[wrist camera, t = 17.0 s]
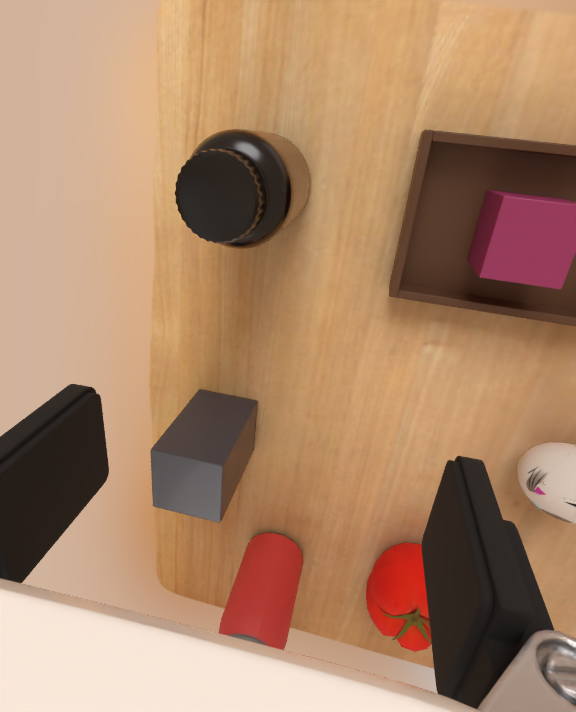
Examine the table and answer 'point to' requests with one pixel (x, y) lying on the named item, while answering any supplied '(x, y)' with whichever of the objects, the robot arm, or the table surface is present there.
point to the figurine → (550, 478)
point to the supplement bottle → (242, 187)
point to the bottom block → (203, 455)
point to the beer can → (264, 591)
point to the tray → (460, 217)
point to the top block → (524, 239)
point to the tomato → (400, 596)
